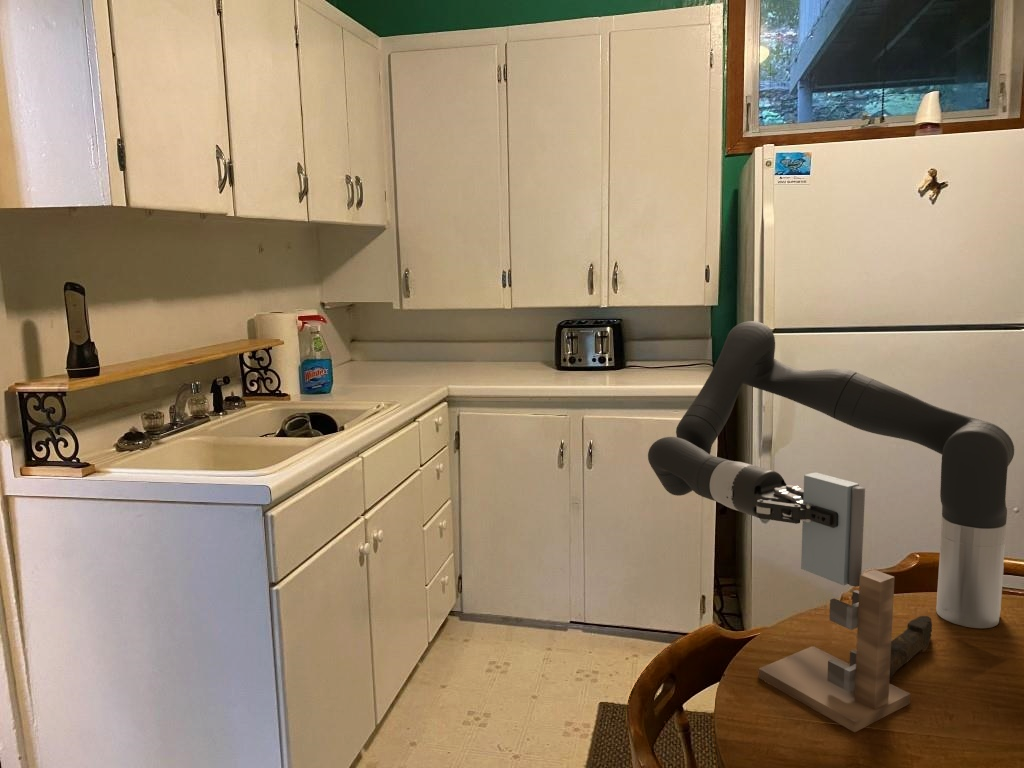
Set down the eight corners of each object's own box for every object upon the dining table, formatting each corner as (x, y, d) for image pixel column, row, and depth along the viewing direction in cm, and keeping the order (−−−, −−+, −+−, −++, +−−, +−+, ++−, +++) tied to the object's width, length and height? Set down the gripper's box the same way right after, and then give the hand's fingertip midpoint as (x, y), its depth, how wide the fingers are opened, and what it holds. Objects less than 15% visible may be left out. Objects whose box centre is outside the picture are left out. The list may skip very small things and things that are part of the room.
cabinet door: (812, 564, 112) (815, 472, 110) (865, 585, 105) (869, 486, 103) (801, 568, 111) (804, 475, 109) (853, 589, 104) (858, 489, 101)
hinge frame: (812, 655, 120) (816, 535, 117) (909, 703, 106) (917, 569, 103) (758, 677, 114) (761, 552, 111) (854, 732, 100) (860, 591, 97)
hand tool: (888, 688, 111) (890, 658, 110) (861, 677, 114) (862, 647, 113) (947, 646, 122) (949, 618, 121) (921, 636, 125) (923, 610, 124)
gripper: (776, 503, 124) (874, 534, 109) (714, 520, 117) (809, 555, 102) (777, 458, 123) (876, 483, 108) (714, 472, 116) (811, 501, 101)
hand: (843, 518), depth 105 cm, fingers closed on cabinet door, 2 cm apart
